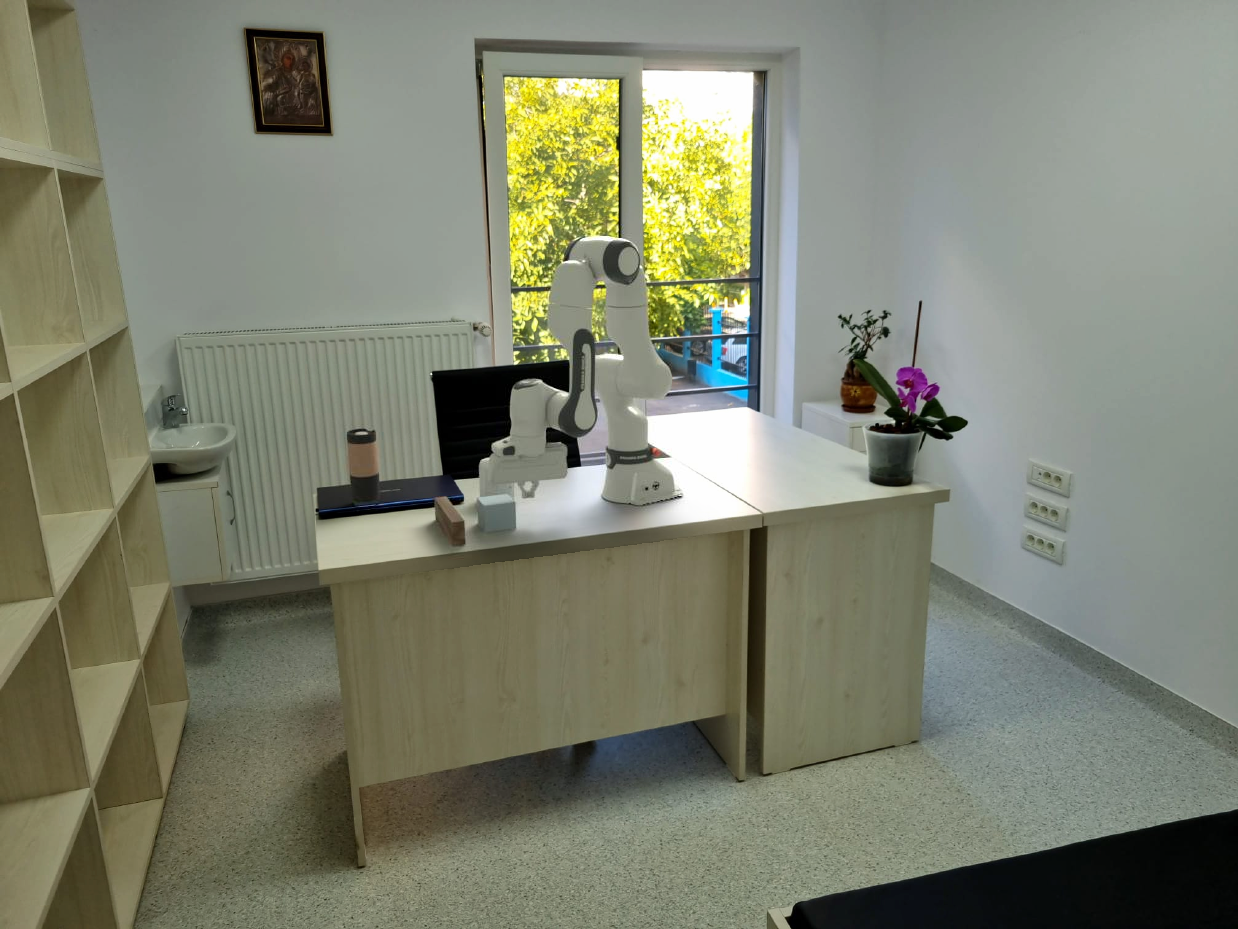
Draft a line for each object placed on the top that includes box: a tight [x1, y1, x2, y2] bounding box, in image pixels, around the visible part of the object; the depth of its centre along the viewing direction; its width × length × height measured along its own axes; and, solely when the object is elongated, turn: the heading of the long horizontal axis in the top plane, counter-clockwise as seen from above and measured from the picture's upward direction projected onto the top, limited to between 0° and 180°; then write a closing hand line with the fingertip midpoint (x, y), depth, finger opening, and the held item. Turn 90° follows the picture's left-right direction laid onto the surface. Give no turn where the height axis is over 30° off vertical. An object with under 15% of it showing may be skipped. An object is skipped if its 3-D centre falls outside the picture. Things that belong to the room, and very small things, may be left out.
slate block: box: [476, 494, 517, 533], centre depth 236 cm, size 8×7×7 cm
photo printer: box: [478, 457, 515, 501], centre depth 254 cm, size 10×4×12 cm, turn 56°
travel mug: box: [346, 428, 381, 502], centre depth 251 cm, size 8×8×20 cm
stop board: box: [433, 496, 467, 547], centre depth 232 cm, size 3×20×6 cm, turn 23°
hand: (528, 497), depth 238 cm, fingers closed
